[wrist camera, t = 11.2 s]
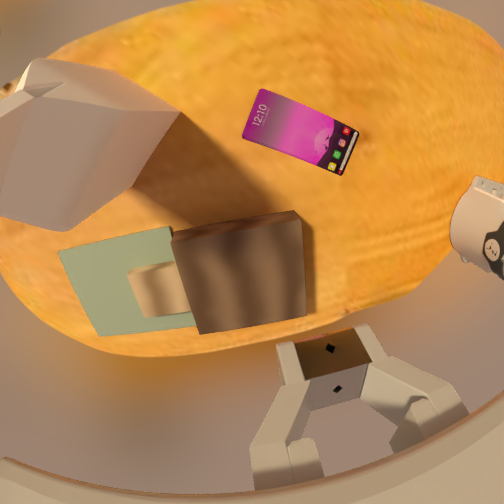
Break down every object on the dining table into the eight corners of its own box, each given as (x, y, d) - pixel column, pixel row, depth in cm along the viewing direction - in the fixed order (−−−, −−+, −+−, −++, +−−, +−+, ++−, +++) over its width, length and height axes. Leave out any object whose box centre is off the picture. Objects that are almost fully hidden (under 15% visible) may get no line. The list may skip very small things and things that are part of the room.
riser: (293, 210, 40) (301, 220, 36) (300, 300, 47) (306, 315, 43) (174, 231, 39) (170, 243, 36) (200, 318, 46) (199, 334, 43)
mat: (169, 225, 39) (168, 227, 38) (199, 323, 47) (199, 325, 46) (58, 250, 38) (57, 252, 38) (99, 334, 46) (99, 336, 46)
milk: (132, 186, 35) (23, 299, 12) (70, 146, 31) (-74, 207, 8) (181, 111, 32) (97, 100, 9) (114, 70, 28) (-27, 33, 5)
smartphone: (338, 175, 39) (341, 177, 38) (240, 137, 35) (241, 138, 34) (357, 131, 36) (360, 131, 35) (259, 87, 32) (260, 87, 31)
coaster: (179, 259, 41) (177, 266, 39) (192, 303, 44) (191, 310, 42) (130, 268, 40) (126, 275, 39) (146, 310, 44) (144, 317, 42)
